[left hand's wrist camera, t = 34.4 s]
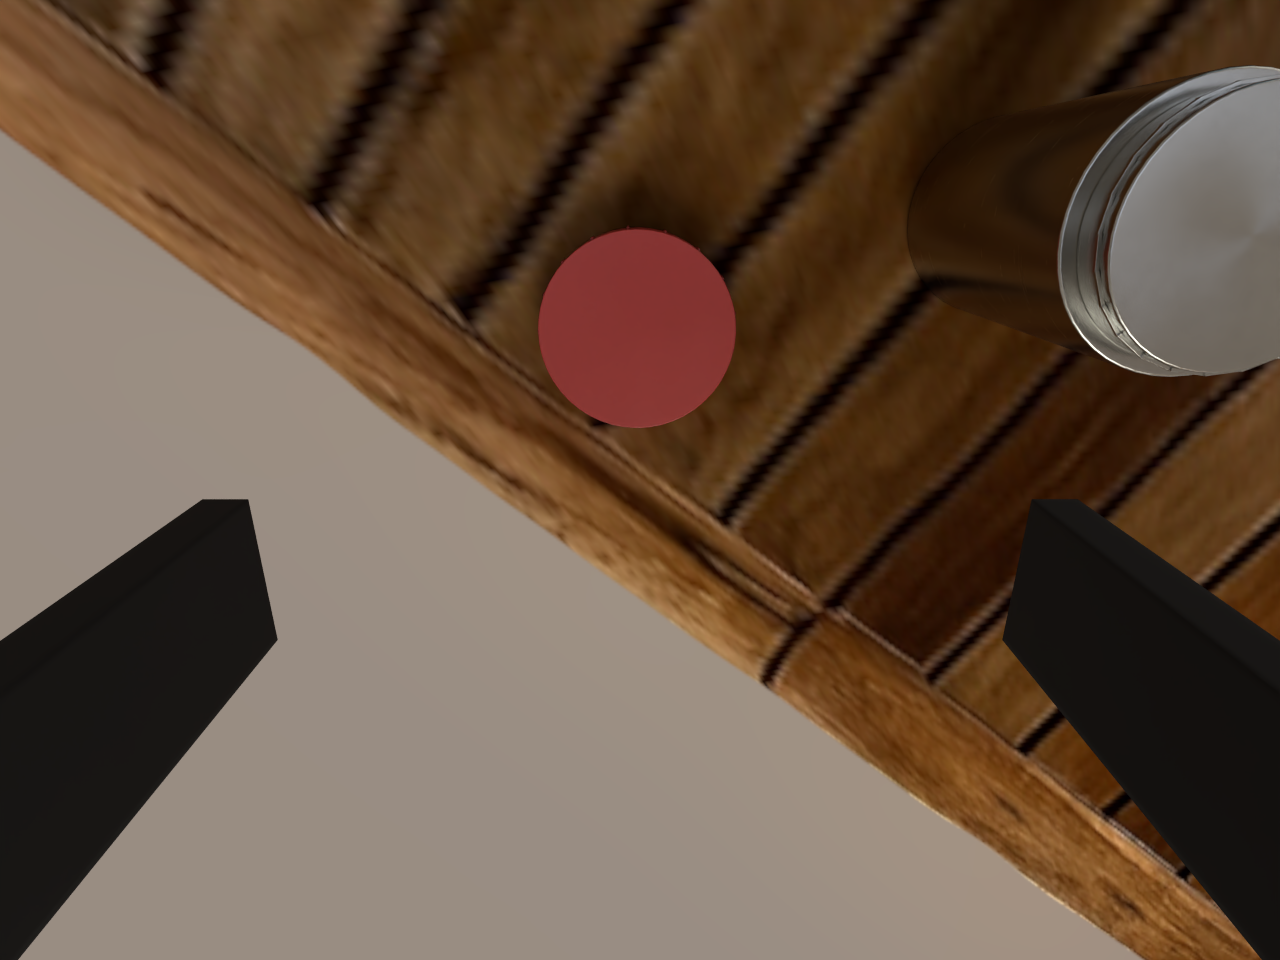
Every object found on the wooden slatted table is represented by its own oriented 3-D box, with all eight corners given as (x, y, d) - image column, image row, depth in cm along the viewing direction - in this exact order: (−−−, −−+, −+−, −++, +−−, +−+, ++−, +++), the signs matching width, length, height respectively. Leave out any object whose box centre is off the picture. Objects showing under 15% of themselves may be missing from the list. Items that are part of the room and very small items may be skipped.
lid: (545, 417, 39) (540, 428, 37) (537, 225, 35) (531, 226, 34) (726, 418, 39) (731, 429, 37) (736, 226, 35) (741, 228, 34)
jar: (907, 324, 37) (1077, 408, 23) (906, 129, 34) (1104, 81, 19) (1088, 300, 37) (1381, 369, 22) (1105, 100, 33) (1461, 28, 19)
